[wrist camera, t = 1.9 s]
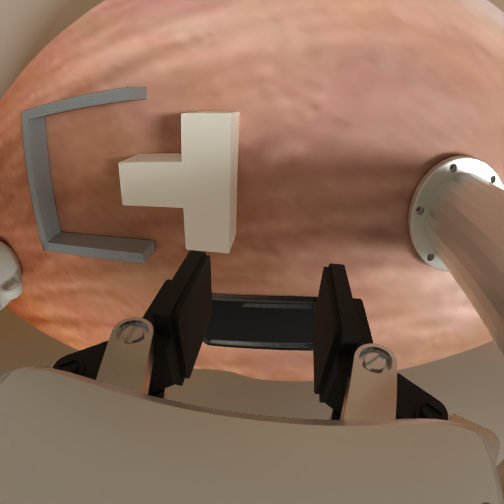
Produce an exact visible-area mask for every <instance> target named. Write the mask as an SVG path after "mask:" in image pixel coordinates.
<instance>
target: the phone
mask: <svg viewBox="0 0 504 504" xmlns="http://www.w3.org/2000/svg"><path fill="white" fill-rule="evenodd" d="M317 300H318V297H286V296H252V295H228V294H212V316H211V319H210V322H209V325H208V328H207V330H206V333H205V336H204V339H203V342H204V343H205V344H207V345H211V346H223V347H236V348H252V349H272V350H308V351H312V350H313V319H314V314H315V309H316V305H317Z"/></svg>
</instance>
